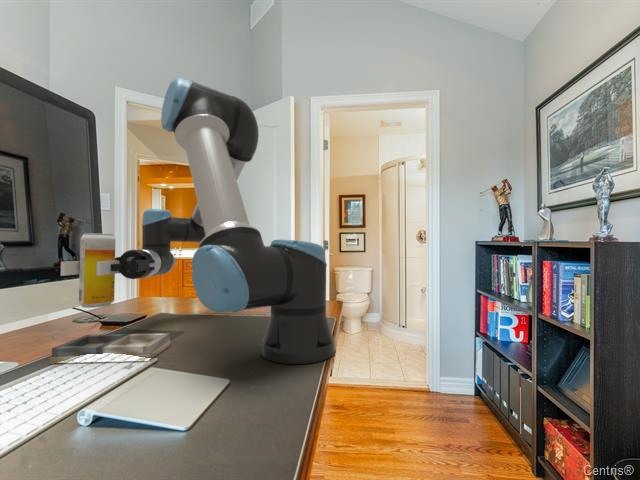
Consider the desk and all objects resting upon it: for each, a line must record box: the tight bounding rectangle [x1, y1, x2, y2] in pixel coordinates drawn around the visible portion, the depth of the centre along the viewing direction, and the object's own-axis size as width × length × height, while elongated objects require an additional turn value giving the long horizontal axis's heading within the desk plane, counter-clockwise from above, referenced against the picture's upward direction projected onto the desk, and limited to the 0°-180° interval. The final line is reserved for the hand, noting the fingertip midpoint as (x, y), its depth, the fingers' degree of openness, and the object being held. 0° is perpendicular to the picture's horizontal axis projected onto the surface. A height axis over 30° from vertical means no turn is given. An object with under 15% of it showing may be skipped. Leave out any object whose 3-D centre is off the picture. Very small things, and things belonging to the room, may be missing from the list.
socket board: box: [49, 332, 171, 365], centre depth 67 cm, size 18×11×3 cm, turn 94°
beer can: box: [78, 232, 116, 309], centre depth 68 cm, size 6×6×15 cm
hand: (80, 268), depth 63 cm, fingers closed on beer can, 6 cm apart
